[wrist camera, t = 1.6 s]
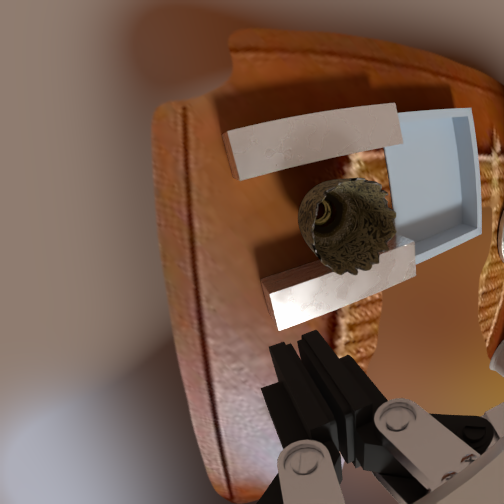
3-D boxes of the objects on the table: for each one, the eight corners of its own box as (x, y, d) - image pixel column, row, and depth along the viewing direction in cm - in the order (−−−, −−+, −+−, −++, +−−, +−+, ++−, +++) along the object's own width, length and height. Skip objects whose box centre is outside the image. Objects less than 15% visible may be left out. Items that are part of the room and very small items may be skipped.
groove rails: (375, 106, 28) (395, 102, 24) (397, 265, 34) (415, 275, 30) (221, 134, 26) (227, 131, 22) (269, 313, 32) (278, 330, 28)
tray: (454, 108, 30) (470, 107, 27) (465, 228, 35) (481, 233, 32) (377, 115, 28) (394, 113, 25) (397, 257, 33) (412, 265, 31)
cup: (359, 225, 31) (407, 246, 24) (299, 260, 31) (335, 293, 23) (332, 159, 28) (380, 162, 21) (266, 194, 28) (297, 207, 21)
